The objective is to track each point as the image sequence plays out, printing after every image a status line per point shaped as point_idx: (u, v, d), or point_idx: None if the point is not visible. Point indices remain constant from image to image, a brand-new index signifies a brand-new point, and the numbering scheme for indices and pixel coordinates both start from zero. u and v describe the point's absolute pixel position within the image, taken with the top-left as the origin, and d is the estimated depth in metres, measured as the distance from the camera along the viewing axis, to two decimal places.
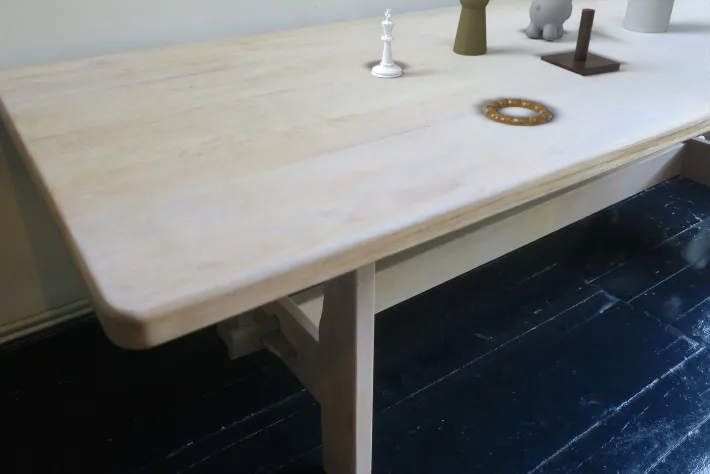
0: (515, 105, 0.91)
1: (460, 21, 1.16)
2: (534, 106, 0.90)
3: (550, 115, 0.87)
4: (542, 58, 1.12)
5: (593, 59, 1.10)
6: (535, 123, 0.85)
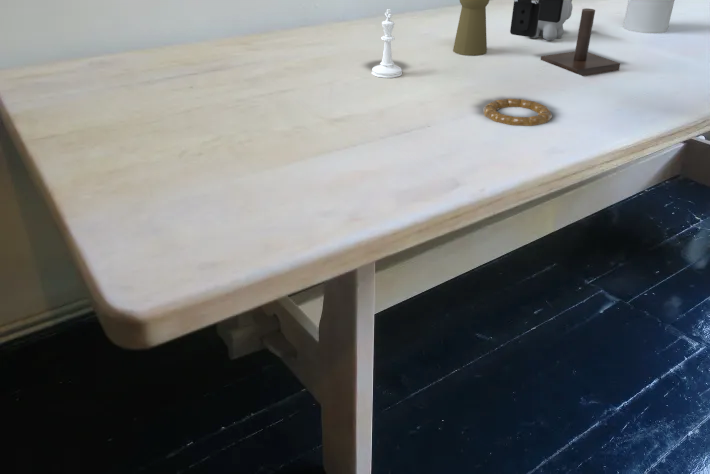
0: (515, 105, 0.91)
1: (460, 21, 1.16)
2: (534, 106, 0.90)
3: (550, 115, 0.87)
4: (542, 58, 1.12)
5: (593, 59, 1.10)
6: (535, 123, 0.85)
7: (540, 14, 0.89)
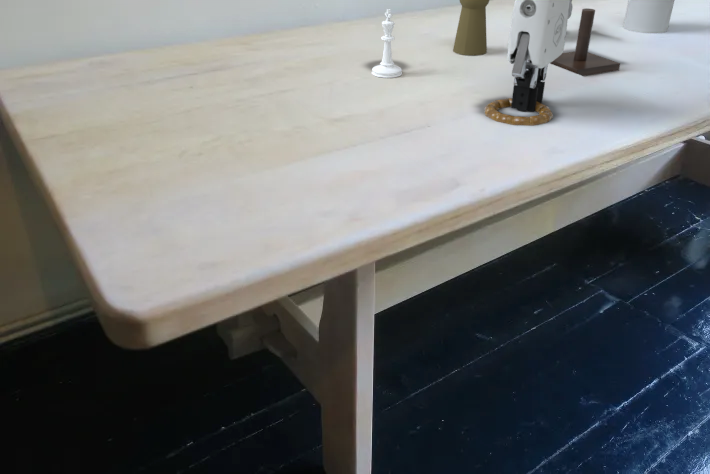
0: None
1: (460, 21, 1.16)
2: None
3: (551, 115, 0.87)
4: None
5: (593, 59, 1.10)
6: (536, 122, 0.85)
7: None
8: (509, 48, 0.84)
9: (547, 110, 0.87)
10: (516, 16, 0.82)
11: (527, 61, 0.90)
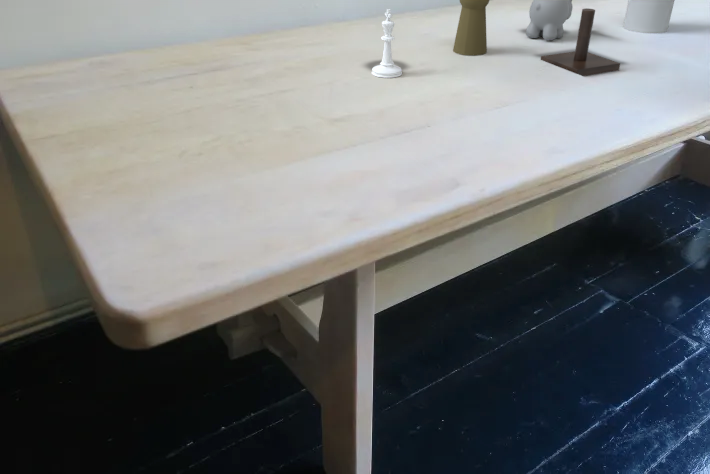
0: None
1: (460, 21, 1.16)
2: None
3: None
4: (542, 58, 1.12)
5: (593, 59, 1.10)
6: None
7: None
8: None
9: None
10: None
11: None
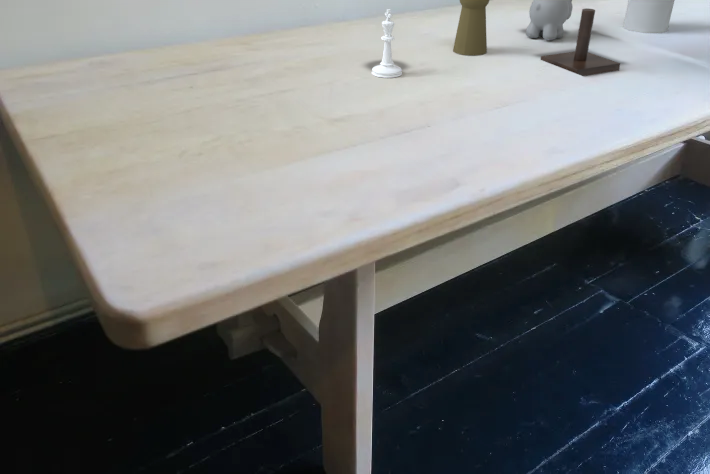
0: None
1: (460, 21, 1.16)
2: None
3: None
4: (542, 58, 1.12)
5: (593, 59, 1.10)
6: None
7: None
8: None
9: None
10: None
11: None
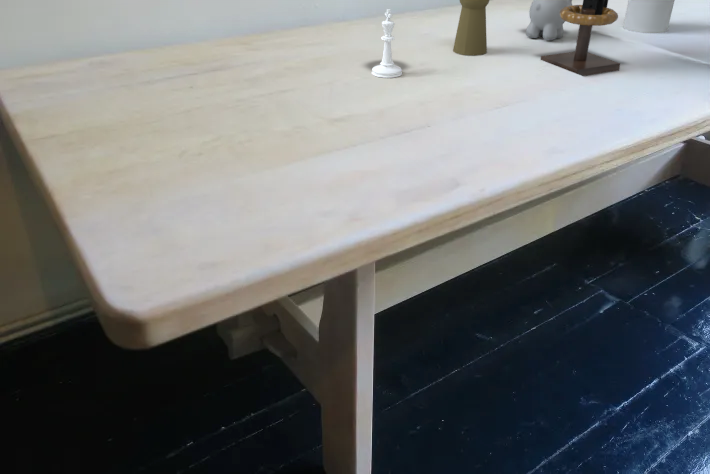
0: None
1: (460, 21, 1.16)
2: None
3: (617, 14, 1.05)
4: (542, 58, 1.12)
5: (593, 59, 1.10)
6: (606, 19, 1.03)
7: None
8: None
9: (613, 11, 1.05)
10: None
11: None
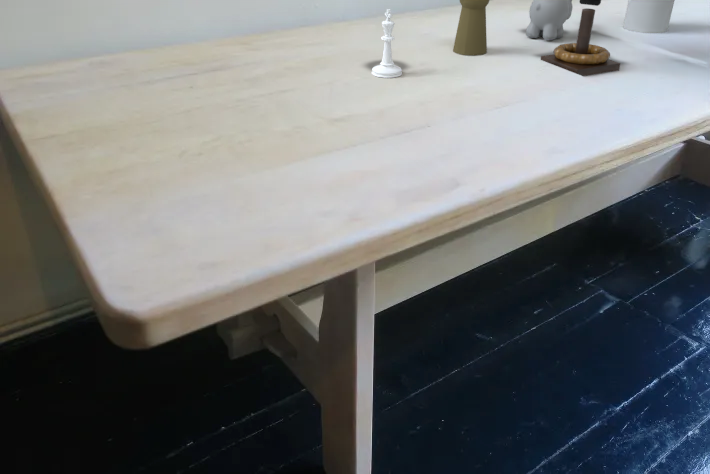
0: None
1: (460, 21, 1.16)
2: (594, 48, 1.12)
3: (609, 54, 1.09)
4: (542, 58, 1.12)
5: None
6: (598, 59, 1.07)
7: None
8: None
9: (606, 50, 1.09)
10: None
11: None
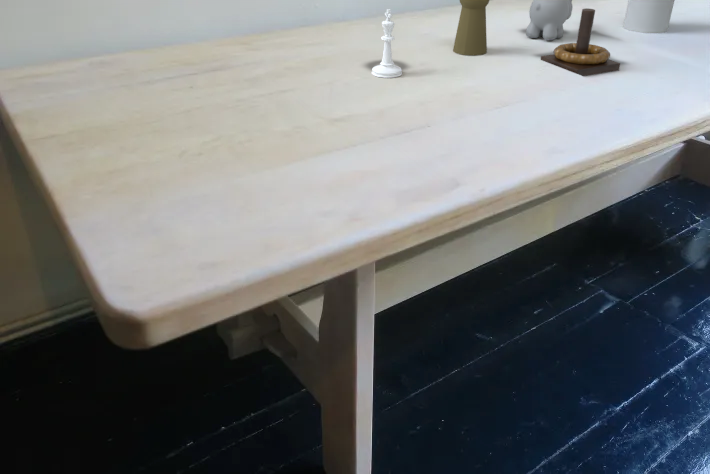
0: None
1: (460, 21, 1.16)
2: (594, 48, 1.12)
3: (609, 54, 1.09)
4: (542, 58, 1.12)
5: None
6: (598, 59, 1.07)
7: None
8: None
9: (606, 50, 1.09)
10: None
11: None
